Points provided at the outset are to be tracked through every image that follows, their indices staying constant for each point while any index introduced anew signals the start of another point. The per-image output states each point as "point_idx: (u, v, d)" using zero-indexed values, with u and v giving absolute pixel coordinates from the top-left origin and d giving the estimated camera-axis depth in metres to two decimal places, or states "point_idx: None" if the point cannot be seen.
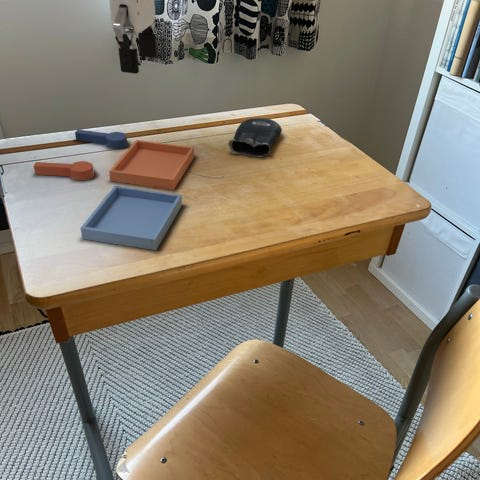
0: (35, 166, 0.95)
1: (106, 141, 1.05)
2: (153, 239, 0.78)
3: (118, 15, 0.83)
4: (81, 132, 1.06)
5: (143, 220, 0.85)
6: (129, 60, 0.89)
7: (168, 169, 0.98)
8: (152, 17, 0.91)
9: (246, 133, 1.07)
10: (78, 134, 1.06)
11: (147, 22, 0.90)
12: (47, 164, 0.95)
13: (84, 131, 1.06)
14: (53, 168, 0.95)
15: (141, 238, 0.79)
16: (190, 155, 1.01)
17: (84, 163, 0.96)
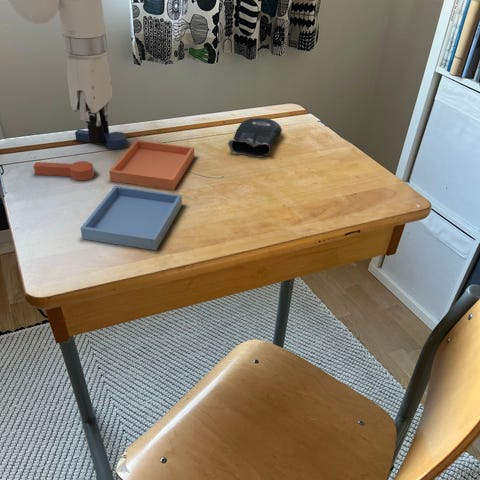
0: (35, 166, 0.95)
1: (106, 141, 1.05)
2: (153, 239, 0.78)
3: (81, 108, 0.97)
4: (81, 132, 1.06)
5: (143, 220, 0.85)
6: (96, 134, 1.04)
7: (168, 169, 0.98)
8: (109, 95, 1.03)
9: (246, 133, 1.07)
10: (78, 133, 1.06)
11: (104, 101, 1.01)
12: (47, 164, 0.95)
13: (84, 131, 1.06)
14: (53, 168, 0.95)
15: (141, 238, 0.79)
16: (190, 155, 1.01)
17: (84, 163, 0.96)
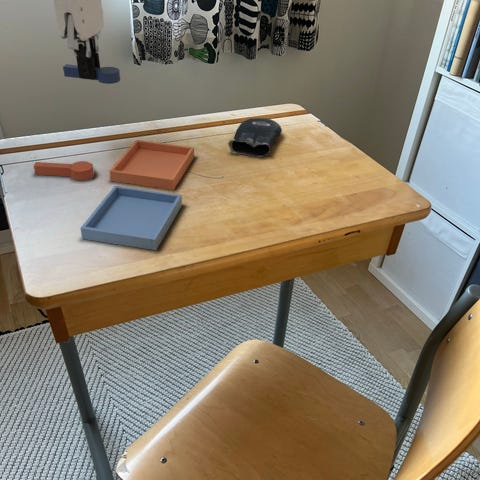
0: (35, 166, 0.95)
1: (97, 76, 0.97)
2: (153, 239, 0.78)
3: (69, 33, 0.89)
4: (70, 66, 0.97)
5: (143, 220, 0.85)
6: (86, 67, 0.95)
7: (168, 169, 0.98)
8: (100, 24, 0.94)
9: (246, 133, 1.07)
10: (67, 68, 0.97)
11: (95, 29, 0.93)
12: (47, 164, 0.95)
13: (73, 65, 0.98)
14: (53, 168, 0.95)
15: (141, 238, 0.79)
16: (190, 155, 1.01)
17: (84, 163, 0.96)
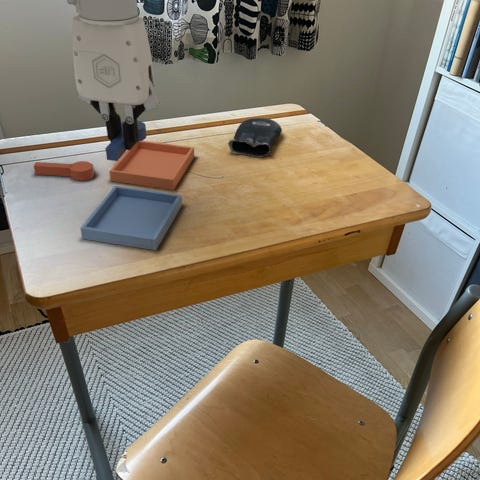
0: (35, 166, 0.95)
1: None
2: (153, 239, 0.78)
3: (152, 90, 0.71)
4: (116, 145, 0.74)
5: (143, 220, 0.85)
6: (137, 131, 0.76)
7: (168, 169, 0.98)
8: None
9: (246, 133, 1.07)
10: (118, 148, 0.74)
11: None
12: (47, 164, 0.95)
13: (112, 143, 0.74)
14: (53, 168, 0.95)
15: (141, 238, 0.79)
16: (190, 155, 1.01)
17: (84, 163, 0.96)
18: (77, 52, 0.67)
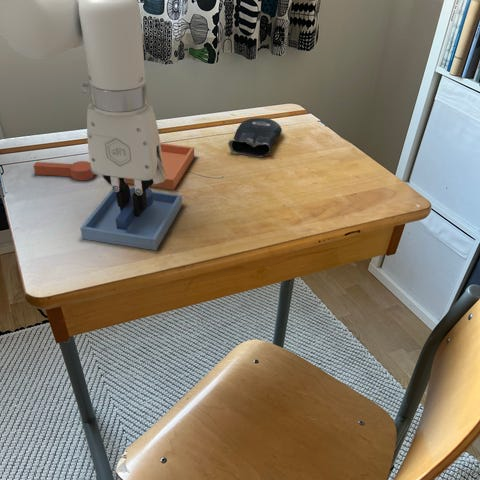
0: (35, 166, 0.95)
1: None
2: (153, 239, 0.78)
3: (160, 167, 0.77)
4: (125, 216, 0.80)
5: (143, 220, 0.85)
6: (145, 199, 0.82)
7: (168, 169, 0.98)
8: None
9: (246, 133, 1.07)
10: (127, 219, 0.80)
11: None
12: (47, 164, 0.95)
13: (122, 214, 0.80)
14: (53, 168, 0.95)
15: (141, 238, 0.79)
16: (190, 155, 1.01)
17: (84, 163, 0.96)
18: (91, 136, 0.73)
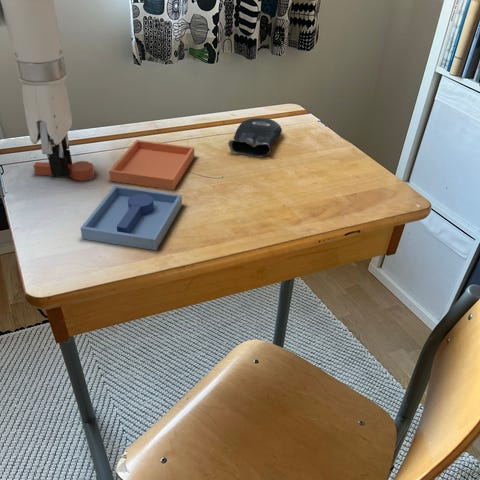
0: (35, 166, 0.95)
1: (144, 210, 0.85)
2: (153, 239, 0.78)
3: (42, 140, 0.86)
4: (126, 223, 0.81)
5: (143, 220, 0.85)
6: (60, 167, 0.93)
7: (168, 169, 0.98)
8: (69, 122, 0.92)
9: (246, 133, 1.07)
10: (128, 226, 0.80)
11: (66, 130, 0.91)
12: (47, 164, 0.95)
13: (123, 221, 0.81)
14: None
15: (141, 238, 0.79)
16: (190, 155, 1.01)
17: (84, 163, 0.96)
18: None
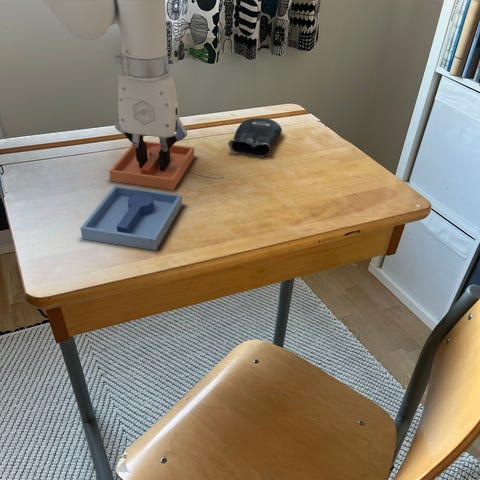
0: (149, 170, 0.94)
1: (144, 210, 0.85)
2: (153, 239, 0.78)
3: (180, 125, 0.92)
4: (126, 223, 0.81)
5: (143, 220, 0.85)
6: (169, 156, 0.97)
7: (168, 169, 0.98)
8: None
9: (246, 133, 1.07)
10: (128, 226, 0.80)
11: None
12: (149, 163, 0.96)
13: (123, 221, 0.81)
14: (155, 163, 0.97)
15: (141, 238, 0.79)
16: (190, 155, 1.01)
17: (153, 148, 1.01)
18: (122, 99, 0.89)
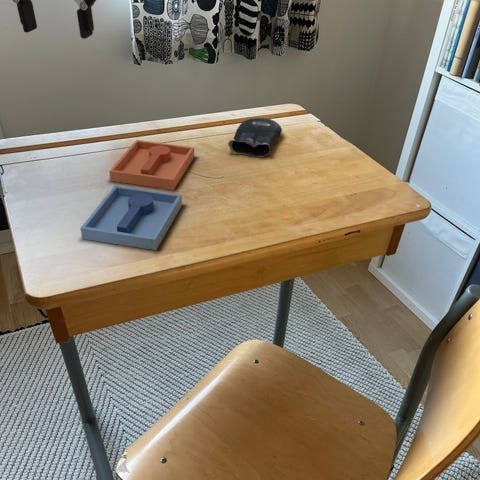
0: (149, 170, 0.94)
1: (144, 210, 0.85)
2: (153, 239, 0.78)
3: None
4: (126, 223, 0.81)
5: (143, 220, 0.85)
6: (92, 20, 0.80)
7: (168, 169, 0.98)
8: None
9: (246, 133, 1.07)
10: (128, 226, 0.80)
11: None
12: (149, 163, 0.96)
13: (123, 221, 0.81)
14: (155, 163, 0.97)
15: (141, 238, 0.79)
16: (190, 155, 1.01)
17: (153, 148, 1.01)
18: None
